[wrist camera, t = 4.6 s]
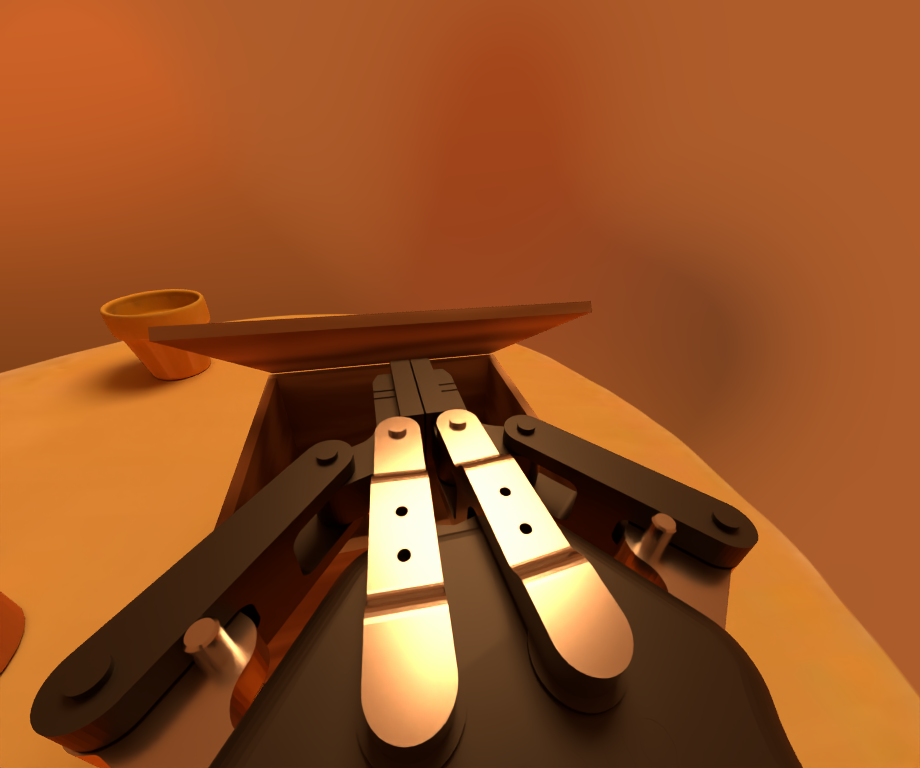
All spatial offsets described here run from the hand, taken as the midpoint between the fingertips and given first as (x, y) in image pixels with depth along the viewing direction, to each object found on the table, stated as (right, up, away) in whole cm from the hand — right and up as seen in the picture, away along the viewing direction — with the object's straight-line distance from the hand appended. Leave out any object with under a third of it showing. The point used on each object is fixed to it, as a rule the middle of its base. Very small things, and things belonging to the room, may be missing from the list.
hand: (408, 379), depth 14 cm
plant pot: (-37, +2, +36) cm, 51 cm away
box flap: (-2, +2, +8) cm, 8 cm away
